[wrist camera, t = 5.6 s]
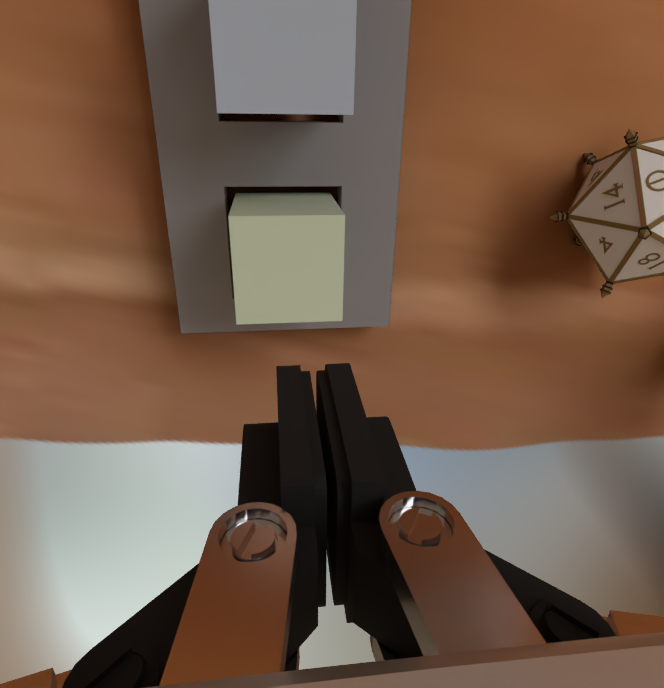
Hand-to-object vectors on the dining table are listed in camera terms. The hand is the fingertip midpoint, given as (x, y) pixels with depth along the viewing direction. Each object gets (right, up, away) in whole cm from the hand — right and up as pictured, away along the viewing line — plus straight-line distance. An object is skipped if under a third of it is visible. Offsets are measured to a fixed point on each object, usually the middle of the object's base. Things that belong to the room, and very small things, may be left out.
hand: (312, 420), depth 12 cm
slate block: (-2, +15, +11) cm, 19 cm away
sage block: (-2, +8, +16) cm, 18 cm away
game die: (+17, +11, +19) cm, 27 cm away
